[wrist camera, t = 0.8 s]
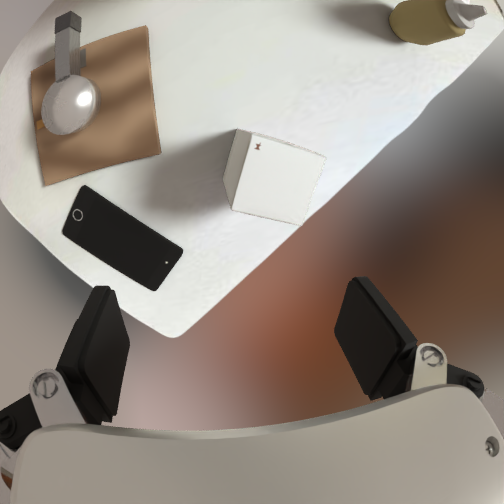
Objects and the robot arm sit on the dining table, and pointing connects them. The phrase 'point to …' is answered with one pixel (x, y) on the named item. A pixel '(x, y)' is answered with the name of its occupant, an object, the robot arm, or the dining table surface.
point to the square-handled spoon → (69, 83)
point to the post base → (103, 109)
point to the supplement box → (271, 177)
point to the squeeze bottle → (433, 20)
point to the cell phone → (120, 239)
